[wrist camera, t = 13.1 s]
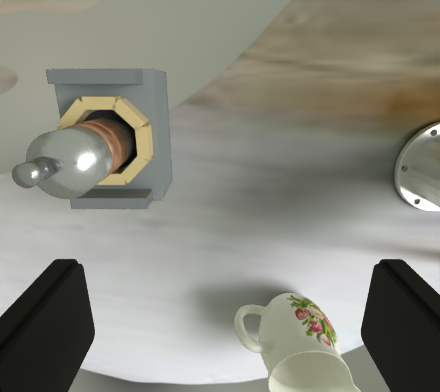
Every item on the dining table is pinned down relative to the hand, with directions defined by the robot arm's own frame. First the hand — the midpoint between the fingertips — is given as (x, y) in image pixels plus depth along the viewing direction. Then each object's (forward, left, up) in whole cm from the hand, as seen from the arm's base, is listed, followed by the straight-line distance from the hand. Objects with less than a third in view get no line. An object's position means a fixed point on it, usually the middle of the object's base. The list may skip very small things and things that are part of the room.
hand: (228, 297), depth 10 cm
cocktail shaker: (+12, -1, -24) cm, 27 cm away
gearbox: (+12, -1, -32) cm, 34 cm away
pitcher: (-10, +28, -32) cm, 44 cm away
